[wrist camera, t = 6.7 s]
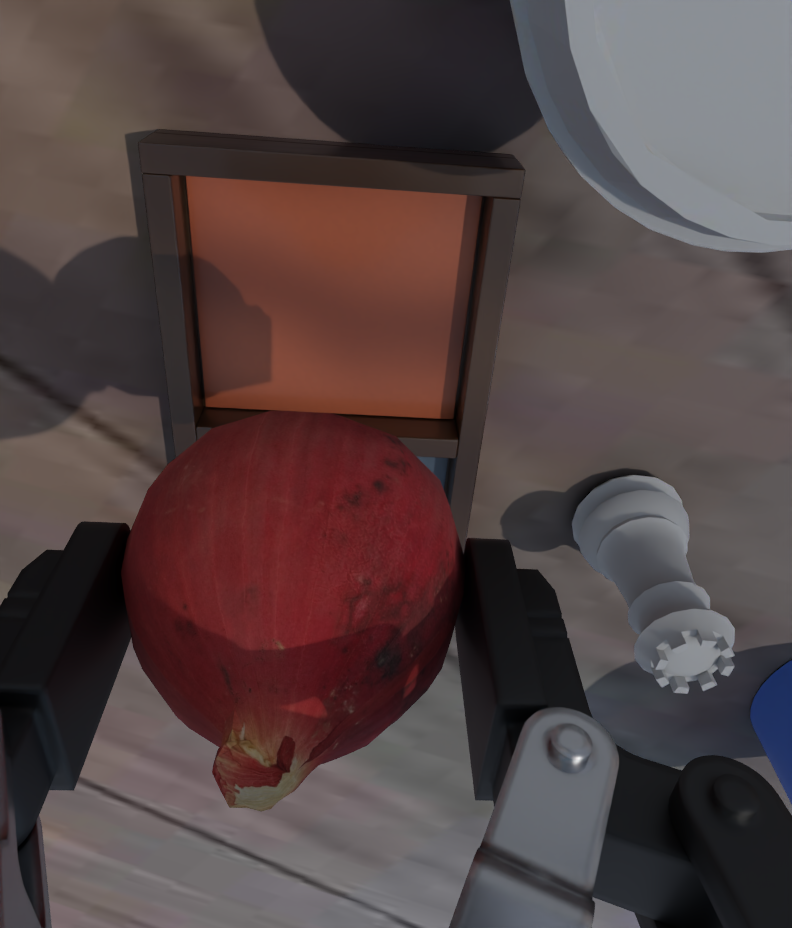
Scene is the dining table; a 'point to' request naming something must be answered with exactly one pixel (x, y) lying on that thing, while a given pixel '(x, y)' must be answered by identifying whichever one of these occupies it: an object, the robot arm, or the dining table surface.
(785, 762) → the water bottle
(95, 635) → the robot arm
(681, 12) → the disposable coffee cup
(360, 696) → the pomegranate
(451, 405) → the tray
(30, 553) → the dining table surface
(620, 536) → the rook chess piece
